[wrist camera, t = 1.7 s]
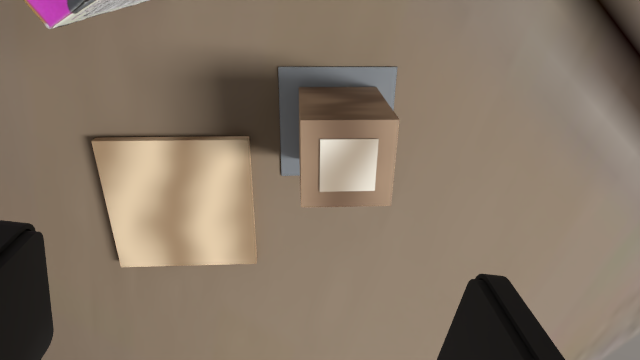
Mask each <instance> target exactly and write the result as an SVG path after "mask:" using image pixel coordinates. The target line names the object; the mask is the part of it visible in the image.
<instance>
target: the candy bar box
mask: <svg viewBox="0 0 640 360" xmlns="http://www.w3.org/2000/svg"><path fill="white" fill-rule="evenodd" d="M24 1H25V2H26V4H27V5H28V6H29V7H30V8H31V9H32V11H33V12H34V13H35V14H36V15H37V16H38V17H39V19H40V20H41V21H42V22H43V23H44V25H45V26H46V27H47V28H48V29H53V28H56V27H61V26H64V25H68V24H71V23H74V22H77V21H81V20H84V19H86V18H90V17H93V16H97V15H100V14H103V13H108V12H111V11H115V10H118V9H120V8H124V7H129V6H132V5H136V4H139V3H142V2H146V1H149V0H24Z"/></svg>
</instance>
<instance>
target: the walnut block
mask: <svg viewBox="0 0 640 360" xmlns="http://www.w3.org/2000/svg"><path fill="white" fill-rule="evenodd" d="M398 129H399V118H398V117H397V116H396V114H395V113H394V111H393V110H392V108H391V107H390V106H389V104H388V103H387V101H386V100H385V98H384V97H383V96H382V94H381V93H380V91H379V90H378V88H377V87H299V164H300V190H301V207H353V206H391V201H392V190H393V180H394V170H395V160H396V149H397V139H398Z"/></svg>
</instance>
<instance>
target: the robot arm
mask: <svg viewBox="0 0 640 360" xmlns="http://www.w3.org/2000/svg"><path fill="white" fill-rule="evenodd" d="M52 337H53V321H52V311H51V302H50V293H49V284H48V275H47V266H46V257H45V248H44V239H43V235H42V233H40V232H36V231H35V228H34V226H33V225H32V224H29V223H20V222H11V221H2V220H1V221H0V360H41V358H42V357H43V355H44V354H45V352H46V351H47V349H48V347H49V345H50V343H51V340H52ZM437 360H565V359H564V357H563V356H562V355H561V353H560V352H559V350H558V349H557V348H556V346H555V345H554V343H553V342H552V340H551V339H550V338H549V336H548V335H547V333H546V332H545V331H544V329H543V328H542V326H541V325H540V324H539V322H538V321H537V319H536V318H535V316H534V315H533V314H532V312H531V311H530V309H529V308H528V307H527V305H526V304H525V302H524V301H523V299H522V298H521V297H520V295H519V294H518V292H517V291H516V290H515V288H514V287H513V285H512V284H511V282H510V281H509V280H508V279H507V278H506V277H504V276H497V275H488V274H479V275H478V276H477V277H476V278H475V279H471V280H470V281H469V282H468V284H467V287H466V289H465V292H464V294H463V297H462V299H461V302H460V304H459V306H458V309H457V311H456V314H455V316H454V319H453V321H452V324H451V326H450V329H449V331H448V334H447V336H446V338H445V341H444V343H443V346H442V348H441V351H440V353H439V356H438V358H437Z"/></svg>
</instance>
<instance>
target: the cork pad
mask: <svg viewBox="0 0 640 360" xmlns="http://www.w3.org/2000/svg"><path fill="white" fill-rule="evenodd" d="M91 142H92V146H93V151H94V155H95V159H96V163H97V168H98V172H99V176H100V180H101V184H102V189H103V193H104V197H105V201H106V206H107V210H108V214H109V218H110V222H111V227H112V231H113V235H114V239H115V244H116V248H117V252H118V256H119V260H120V265H121V267H144V266H183V265H223V264H256V262H257V250H256V235H255V219H254V204H253V188H252V172H251V157H250V141H249V136H218V137H104V138H94V139H93V140H92V141H91Z"/></svg>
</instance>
